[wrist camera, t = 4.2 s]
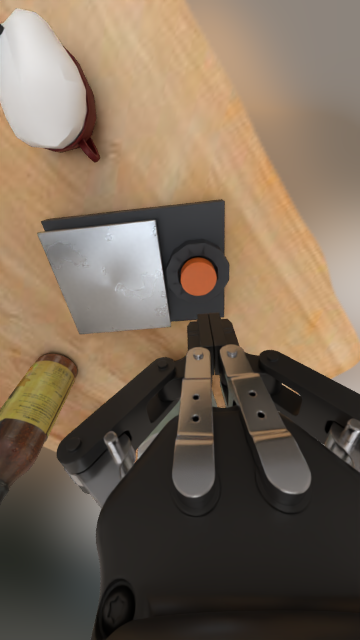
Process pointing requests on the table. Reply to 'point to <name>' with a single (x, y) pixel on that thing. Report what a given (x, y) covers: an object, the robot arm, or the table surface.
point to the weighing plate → (110, 275)
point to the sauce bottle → (32, 415)
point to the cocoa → (44, 87)
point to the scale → (175, 248)
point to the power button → (198, 276)
